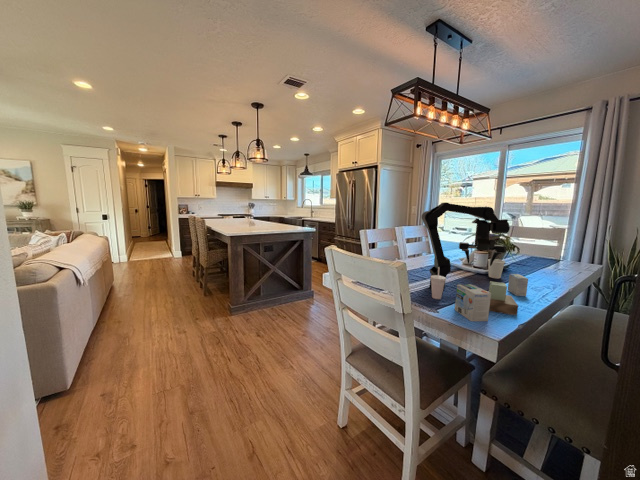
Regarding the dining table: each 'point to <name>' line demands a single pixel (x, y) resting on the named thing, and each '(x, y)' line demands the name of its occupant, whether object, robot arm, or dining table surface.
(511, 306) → the walnut riser block
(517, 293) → the medicine box
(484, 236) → the robot arm
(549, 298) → the dining table surface
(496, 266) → the dixie cup
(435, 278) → the smoothie
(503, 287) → the sage block
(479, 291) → the light bulb box
